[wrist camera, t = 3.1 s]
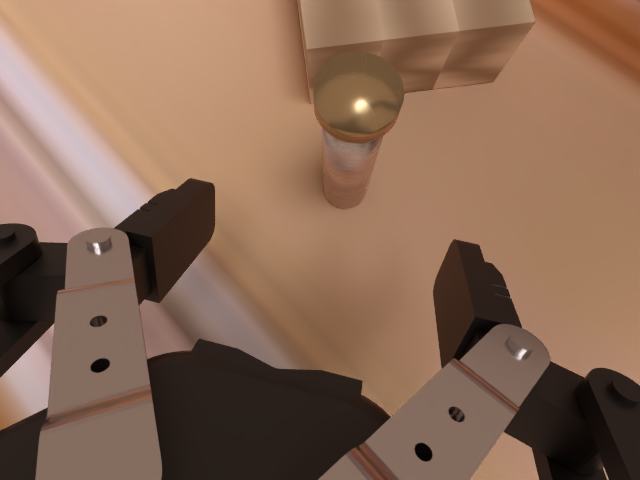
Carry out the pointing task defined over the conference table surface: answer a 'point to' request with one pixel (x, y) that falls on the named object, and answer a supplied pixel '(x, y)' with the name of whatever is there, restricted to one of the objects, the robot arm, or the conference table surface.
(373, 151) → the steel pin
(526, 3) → the maple hitch block
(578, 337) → the conference table surface
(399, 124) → the conference table surface
